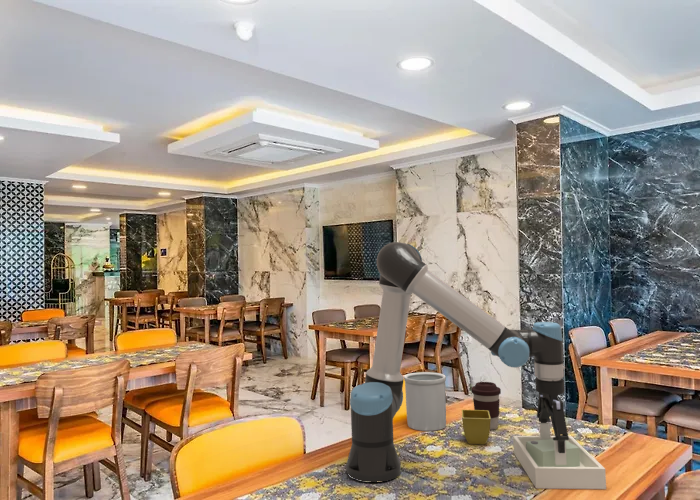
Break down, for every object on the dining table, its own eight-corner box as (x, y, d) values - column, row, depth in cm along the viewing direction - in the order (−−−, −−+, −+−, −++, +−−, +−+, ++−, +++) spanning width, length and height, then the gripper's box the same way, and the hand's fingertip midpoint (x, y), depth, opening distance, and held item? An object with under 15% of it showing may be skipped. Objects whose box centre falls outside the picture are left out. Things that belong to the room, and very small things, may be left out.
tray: (536, 488, 125) (535, 468, 125) (513, 452, 149) (513, 435, 149) (606, 489, 123) (605, 468, 123) (572, 453, 147) (571, 436, 147)
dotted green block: (543, 470, 133) (542, 450, 133) (527, 459, 141) (526, 440, 141) (579, 466, 135) (579, 446, 135) (561, 455, 143) (561, 437, 143)
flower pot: (491, 447, 153) (490, 418, 154) (463, 446, 155) (462, 417, 155) (489, 438, 162) (488, 410, 162) (462, 436, 164) (461, 409, 164)
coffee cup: (505, 431, 168) (504, 386, 168) (476, 432, 168) (474, 387, 168) (497, 422, 178) (495, 380, 178) (469, 422, 178) (468, 380, 178)
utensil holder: (401, 420, 183) (400, 372, 184) (440, 417, 185) (439, 370, 186) (410, 433, 169) (409, 381, 169) (453, 430, 170) (451, 379, 171)
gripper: (579, 388, 126) (583, 473, 125) (549, 368, 151) (552, 439, 150) (549, 388, 127) (553, 472, 126) (524, 368, 151) (527, 438, 151)
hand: (552, 454), depth 138 cm, fingers open, 13 cm apart
